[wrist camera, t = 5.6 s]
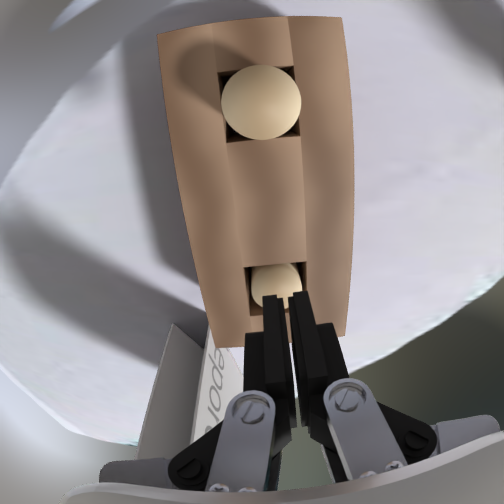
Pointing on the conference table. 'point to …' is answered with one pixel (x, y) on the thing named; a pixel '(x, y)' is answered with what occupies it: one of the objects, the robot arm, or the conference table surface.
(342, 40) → the walnut block
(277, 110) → the peg
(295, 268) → the peg
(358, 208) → the conference table surface
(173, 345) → the brochure
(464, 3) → the conference table surface
